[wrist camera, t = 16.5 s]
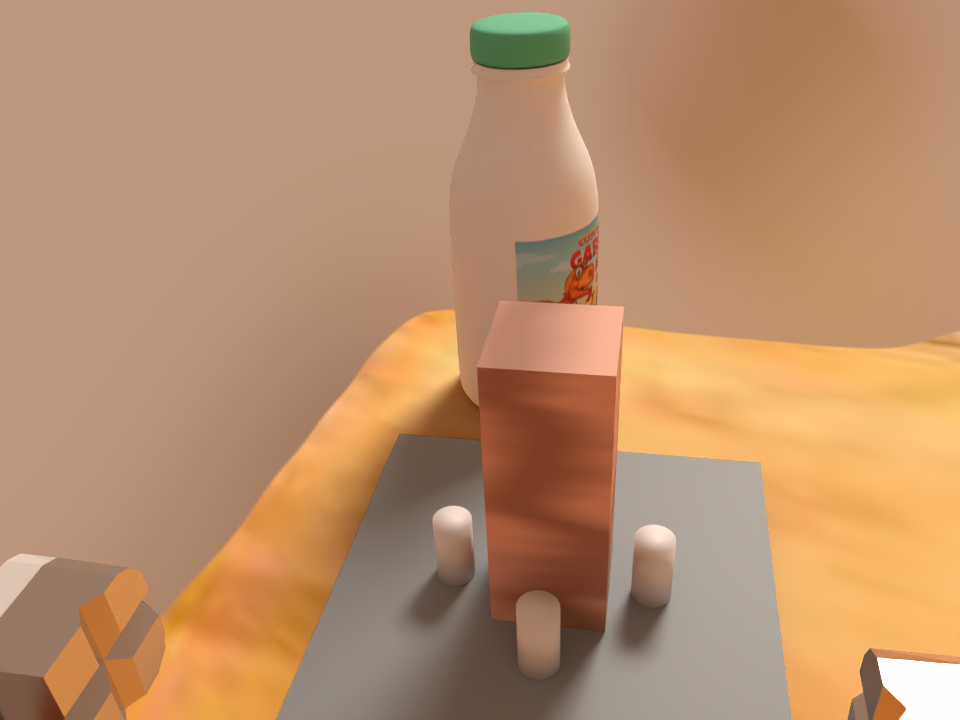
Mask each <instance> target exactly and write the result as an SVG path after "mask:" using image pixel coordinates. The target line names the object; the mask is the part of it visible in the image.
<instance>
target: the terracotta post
mask: <svg viewBox="0 0 960 720" xmlns="http://www.w3.org/2000/svg"><path fill="white" fill-rule="evenodd" d="M623 315H624V307H618V306H599V305H579V304H559V303H540V302H520V301H501V300H500V302H499V305H498V308H497V311H496V314H495V317H494V319H493V322H492V325H491V328H490V331H489V334H488V337H487V339H486V342H485V345H484V348H483V351H482V354H481V357H480V359H479V362H478V365H477V379H478V397H479V414H480V431H481V448H482V465H483V483H484V500H485V517H486V534H487V551H488V569H489V586H490V603H491V619H498V620H507V621H515V622H516V603H517V601H518V599H519V598H520V597H521V596H522V595H523V594H525V593H527V592H530V591H535V590H540V591H546V592H549V593H551V594H552V595H554V596H555V597H556V598H557V599H558V601H559V603H560V627H566V628H574V629H583V630H591V631H599V632H605V627H606V615H607V604H608V593H609V582H610V570H611V559H612V546H613V525H614V504H615V484H616V463H617V442H618V421H619V400H620V380H621V359H622V338H623V317H624V316H623Z"/></svg>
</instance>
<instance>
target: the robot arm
mask: <svg viewBox="0 0 960 720" xmlns="http://www.w3.org/2000/svg"><path fill="white" fill-rule="evenodd" d="M148 590H149V588H148V586H147V583H146V581H145V579H144V577H143V575H142V573H141V570H138V569H132V568H126V567H119V566H112V565H105V564H98V563H90V562H84V561H77V560H70V559H62V558H54V557H46V556H38V555H29V554H22V553H21V554H19V555H17V556H15V557H13V558H11V559H9V560H7V561H6V562H5V563H4V564H3V565H2V566H1V567H0V720H126V712H125V708H127V707H128V706H129V705H131V704H132V703H134V702H135V701H137V700H138V699H140V698H141V697H142V696H144V695H145V694H147V692H148V690H149V689H150V687H151V685H152V683H153V681H154V680H155V678H156V676H157V674H158V673H159V669H160V665H161V662H162V658H163V654H164V650H165V634H164V627H163V624H162V622H161V619H160V616H159V614H157V613H156V612H155V611H154V610H153V609H152V608H151V607H149V606H148V605H147V604H146V603H145V602H144V601H143V599H144V597H145V595H146V594H147V592H148ZM860 676H861V681H862V687H863V693H862V694H860V695H858V696H857V697H855V698H853V699H852V702H851V707H850V711H849V716H848V720H960V657H954V656H944V655H934V654H924V653H913V652H903V651H893V650H883V649H873V648H870V649H869V650H868V651H867V653H866V654H865V655H864V658H863V662H862V665H861V669H860Z"/></svg>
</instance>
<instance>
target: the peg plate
mask: <svg viewBox="0 0 960 720" xmlns="http://www.w3.org/2000/svg"><path fill="white" fill-rule="evenodd" d="M276 720H791V715H790V707H789V698H788V690H787V682H786V673H785V665H784V657H783V648H782V640H781V632H780V623H779V615H778V607H777V599H776V590H775V582H774V574H773V565H772V557H771V549H770V540H769V532H768V524H767V515H766V507H765V499H764V491H763V482H762V474H761V466H760V463H757V462H744V461H732V460H719V459H707V458H695V457H682V456H670V455H657V454H645V453H632V452H620V451H617V463H616V484H615V504H614V525H613V546H612V559H611V570H610V582H609V593H608V604H607V615H606V627H605V632H599V631H591V630H583V629H574V628H566V627H560V603H559V601H558V599H557V598H556V597H555V596H554V595H552V594H551V593H549V592H546V591H540V590H535V591H530V592H527V593H525V594H523V595H522V596H521V597H520V598H519V599H518V601H517V603H516V622H515V621H507V620H498V619H491V603H490V586H489V569H488V551H487V534H486V517H485V500H484V483H483V465H482V448H481V440H470V439H458V438H446V437H433V436H421V435H408V434H399V436H398V439H397V441H396V443H395V446H394V448H393V450H392V453H391V455H390V457H389V459H388V462H387V464H386V466H385V469H384V471H383V473H382V476H381V478H380V480H379V483H378V485H377V487H376V490H375V492H374V494H373V497H372V499H371V501H370V504H369V506H368V508H367V511H366V513H365V515H364V518H363V520H362V522H361V524H360V527H359V529H358V531H357V534H356V536H355V538H354V541H353V543H352V545H351V548H350V550H349V552H348V555H347V557H346V559H345V562H344V564H343V566H342V569H341V571H340V573H339V576H338V578H337V580H336V582H335V585H334V587H333V589H332V592H331V594H330V596H329V599H328V601H327V603H326V606H325V608H324V610H323V613H322V615H321V617H320V620H319V622H318V624H317V627H316V629H315V631H314V634H313V636H312V638H311V640H310V643H309V645H308V647H307V650H306V652H305V654H304V657H303V659H302V661H301V664H300V666H299V668H298V671H297V673H296V675H295V678H294V680H293V682H292V685H291V687H290V689H289V692H288V694H287V696H286V699H285V701H284V703H283V705H282V708H281V710H280V712H279V715H278V717H277V719H276Z"/></svg>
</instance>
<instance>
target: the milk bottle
mask: <svg viewBox="0 0 960 720" xmlns="http://www.w3.org/2000/svg"><path fill="white" fill-rule="evenodd" d="M470 50H471V56H472V59H473V66H472V69H471V70H472V72H473V74H475V75H476V76H477V96H476V102H475V106H474V110H473V114H472V118H471V122H470V125H469V128H468V131H467V133H466V136H465V138H464V141H463V144H462V146H461V148H460V151H459V154H458V157H457V160H456V163H455V166H454V171H453V175H452V181H451V189H450V235H451V253H452V269H453V286H454V300H455V315H456V329H457V343H458V357H459V369H460V378H461V384H462V387H463V389H464V391H465V393H466V394H467V396H468V397H469V398H470V400H471V401H472V402H473V403H474V404H476V405H477V406H478V407H479V397H478V379H477V365H478V362H479V359H480V357H481V354H482V351H483V348H484V345H485V342H486V339H487V337H488V334H489V331H490V328H491V325H492V322H493V319H494V317H495V314H496V311H497V308H498V305H499V302H500V300H501V301H520V302H540V303H559V304H579V305H597V286H598V284H597V283H598V233H599V231H598V230H599V226H598V194H597V185H596V178H595V174H594V169H593V165H592V163H591V159H590V156H589V154H588V151H587V149H586V146H585V145H584V142H583V140H582V138H581V135H580V133H579V131H578V129H577V126H576V124H575V122H574V119H573V116H572V113H571V109H570V106H569V102H568V99H567V94H566V89H565V72H566V71H567V70H568V69H569V68H570V64H569V62H568V55H569V52H570V27H569V23H568V21H567V20H566V19H564V18H563V17H560V16H557V15H552V14H546V13H532V12H530V13H529V12H528V13H527V12H523V13H508V14H500V15H495V16H490V17H486V18H483V19H480V20H478V21H476V22H475V23H474V24H473V25H472V26H471V30H470Z"/></svg>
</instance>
